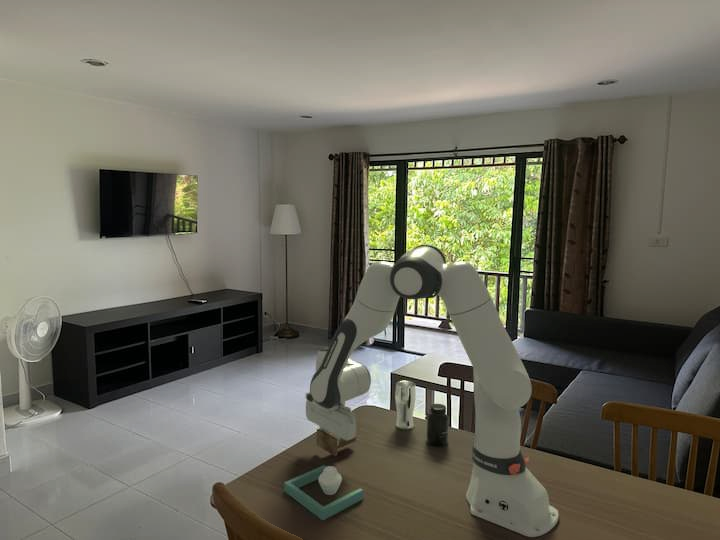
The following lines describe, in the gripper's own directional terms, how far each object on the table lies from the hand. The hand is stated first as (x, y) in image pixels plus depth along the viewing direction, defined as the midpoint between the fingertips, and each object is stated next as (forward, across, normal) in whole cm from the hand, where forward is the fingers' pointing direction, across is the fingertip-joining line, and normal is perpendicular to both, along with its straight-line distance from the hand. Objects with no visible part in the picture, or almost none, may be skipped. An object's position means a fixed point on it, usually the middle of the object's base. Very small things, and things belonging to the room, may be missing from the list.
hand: (330, 443), depth 147 cm
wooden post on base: (+2, 0, -4) cm, 4 cm away
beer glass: (+4, -1, -32) cm, 32 cm away
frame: (+4, -15, +14) cm, 21 cm away
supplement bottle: (+4, -16, -31) cm, 35 cm away
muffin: (+4, -15, +12) cm, 20 cm away
